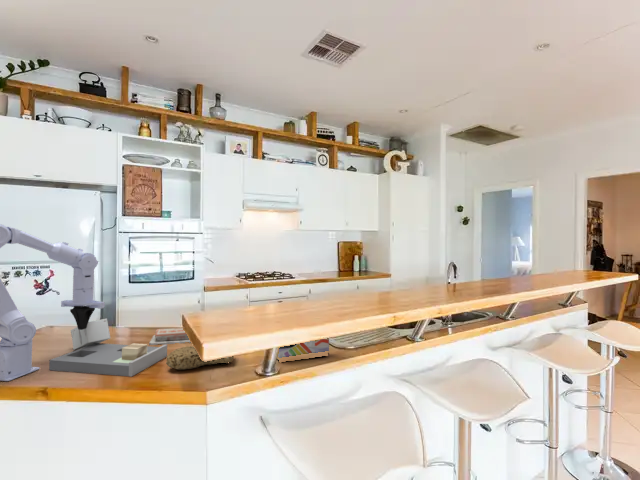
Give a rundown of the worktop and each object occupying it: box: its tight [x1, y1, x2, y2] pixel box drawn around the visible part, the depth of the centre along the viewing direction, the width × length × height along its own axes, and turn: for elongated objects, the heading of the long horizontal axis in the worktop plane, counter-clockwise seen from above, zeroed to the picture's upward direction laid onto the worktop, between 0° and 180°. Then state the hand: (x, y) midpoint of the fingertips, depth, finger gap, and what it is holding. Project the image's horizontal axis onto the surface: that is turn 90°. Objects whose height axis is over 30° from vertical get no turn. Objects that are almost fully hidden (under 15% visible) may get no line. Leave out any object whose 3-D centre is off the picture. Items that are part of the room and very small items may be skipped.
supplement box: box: [70, 318, 111, 351], centre depth 123 cm, size 7×7×13 cm
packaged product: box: [148, 327, 191, 346], centre depth 138 cm, size 18×5×10 cm
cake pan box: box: [278, 337, 330, 358], centre depth 119 cm, size 19×5×18 cm, turn 112°
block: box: [122, 342, 148, 360], centre depth 108 cm, size 5×5×4 cm
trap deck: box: [48, 342, 168, 377], centre depth 111 cm, size 18×27×4 cm, turn 83°
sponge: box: [166, 345, 235, 370], centre depth 111 cm, size 13×8×20 cm
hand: (82, 328), depth 116 cm, fingers closed
